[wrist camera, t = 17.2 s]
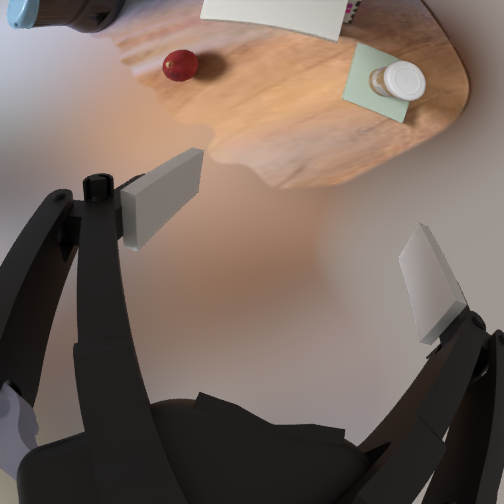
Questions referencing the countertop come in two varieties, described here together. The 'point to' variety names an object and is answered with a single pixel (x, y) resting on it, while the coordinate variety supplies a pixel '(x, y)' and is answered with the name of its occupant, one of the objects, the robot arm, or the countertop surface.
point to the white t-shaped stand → (281, 15)
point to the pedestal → (360, 89)
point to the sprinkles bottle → (398, 81)
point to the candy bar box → (351, 10)
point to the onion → (180, 65)
